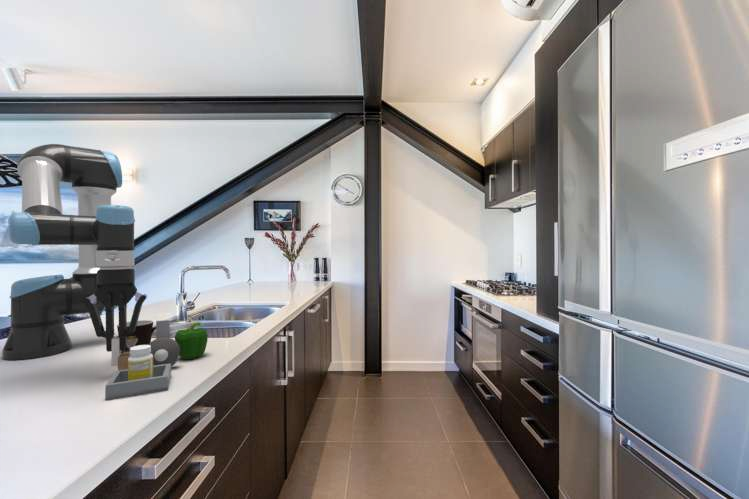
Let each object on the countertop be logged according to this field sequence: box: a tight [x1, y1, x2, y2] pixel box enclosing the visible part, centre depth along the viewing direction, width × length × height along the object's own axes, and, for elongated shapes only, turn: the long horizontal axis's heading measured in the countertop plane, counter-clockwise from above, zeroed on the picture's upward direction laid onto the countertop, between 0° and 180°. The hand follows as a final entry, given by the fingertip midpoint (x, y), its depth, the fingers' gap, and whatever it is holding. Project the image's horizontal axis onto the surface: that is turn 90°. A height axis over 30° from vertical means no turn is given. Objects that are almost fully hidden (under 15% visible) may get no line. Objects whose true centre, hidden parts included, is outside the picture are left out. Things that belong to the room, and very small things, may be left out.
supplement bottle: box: [128, 345, 153, 381], centre depth 78 cm, size 5×5×8 cm
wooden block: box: [117, 352, 131, 371], centre depth 87 cm, size 5×4×5 cm
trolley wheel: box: [148, 319, 180, 368], centre depth 91 cm, size 6×8×12 cm
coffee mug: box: [116, 319, 156, 354], centre depth 99 cm, size 12×9×10 cm
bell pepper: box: [174, 321, 209, 360], centre depth 100 cm, size 8×8×10 cm
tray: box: [104, 363, 172, 401], centre depth 78 cm, size 10×11×3 cm
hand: (116, 363), depth 85 cm, fingers closed
